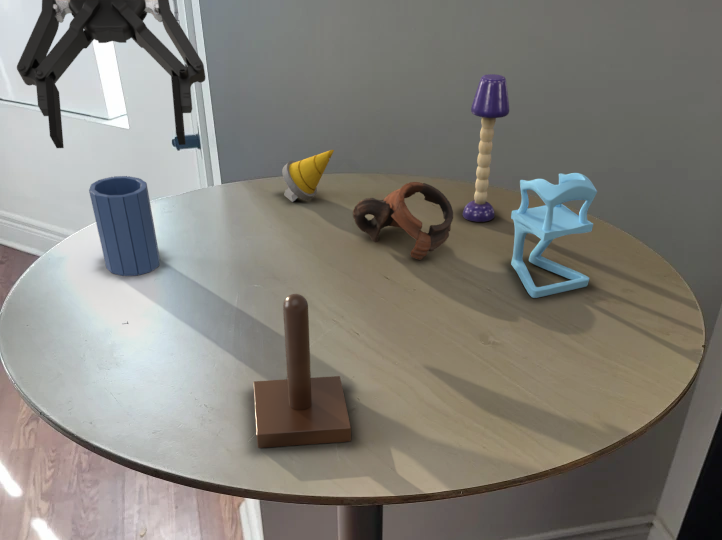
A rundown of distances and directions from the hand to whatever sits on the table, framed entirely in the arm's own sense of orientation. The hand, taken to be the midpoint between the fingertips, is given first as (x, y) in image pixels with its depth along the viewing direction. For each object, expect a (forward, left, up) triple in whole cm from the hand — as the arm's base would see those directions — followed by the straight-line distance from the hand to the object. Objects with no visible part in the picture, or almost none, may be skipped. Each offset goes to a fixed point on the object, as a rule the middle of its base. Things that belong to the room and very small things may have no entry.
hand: (119, 141), depth 88 cm
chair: (+47, -15, -12) cm, 51 cm away
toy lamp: (+44, +3, -12) cm, 46 cm away
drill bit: (+22, +11, -12) cm, 27 cm away
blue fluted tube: (0, -7, -12) cm, 13 cm away
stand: (+17, -39, -12) cm, 44 cm away
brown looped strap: (+32, -5, -12) cm, 34 cm away
